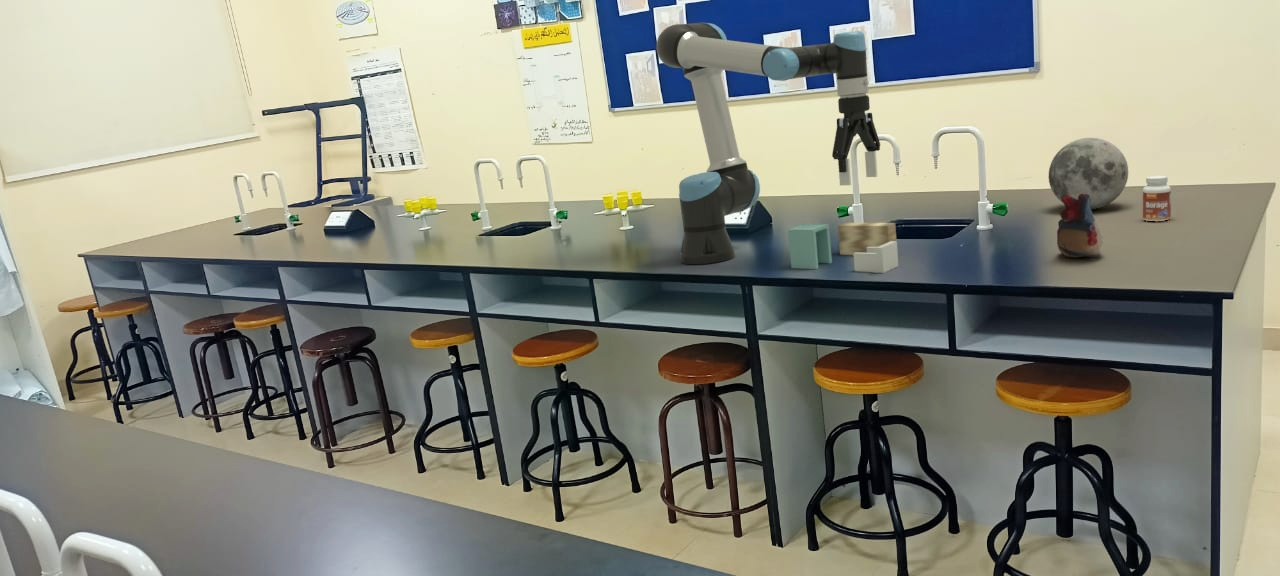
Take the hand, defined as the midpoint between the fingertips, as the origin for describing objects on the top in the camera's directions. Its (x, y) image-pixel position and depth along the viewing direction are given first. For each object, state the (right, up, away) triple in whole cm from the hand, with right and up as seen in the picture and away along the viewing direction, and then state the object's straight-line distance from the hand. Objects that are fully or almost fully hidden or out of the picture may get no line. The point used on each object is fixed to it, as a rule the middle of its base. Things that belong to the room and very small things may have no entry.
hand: (859, 181), depth 233 cm
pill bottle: (+76, -10, 0) cm, 76 cm away
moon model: (+71, -5, +26) cm, 75 cm away
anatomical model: (+43, -20, -28) cm, 55 cm away
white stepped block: (+1, -23, -14) cm, 27 cm away
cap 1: (-13, -21, -3) cm, 25 cm away
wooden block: (+3, -19, +3) cm, 19 cm away
